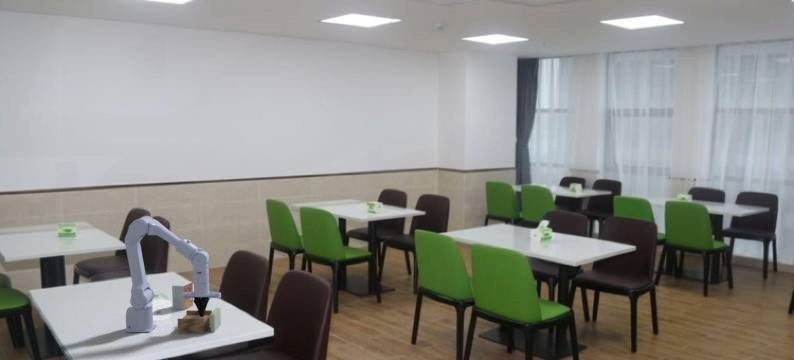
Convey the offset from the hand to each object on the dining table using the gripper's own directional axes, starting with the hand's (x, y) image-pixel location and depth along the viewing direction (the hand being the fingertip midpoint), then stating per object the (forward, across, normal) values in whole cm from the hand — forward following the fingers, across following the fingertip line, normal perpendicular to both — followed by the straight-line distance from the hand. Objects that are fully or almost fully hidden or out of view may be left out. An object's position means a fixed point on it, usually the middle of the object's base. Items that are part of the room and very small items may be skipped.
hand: (202, 316), depth 259 cm
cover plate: (+2, -4, 0) cm, 5 cm away
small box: (+5, +17, -29) cm, 34 cm away
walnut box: (+5, +3, 0) cm, 6 cm away
